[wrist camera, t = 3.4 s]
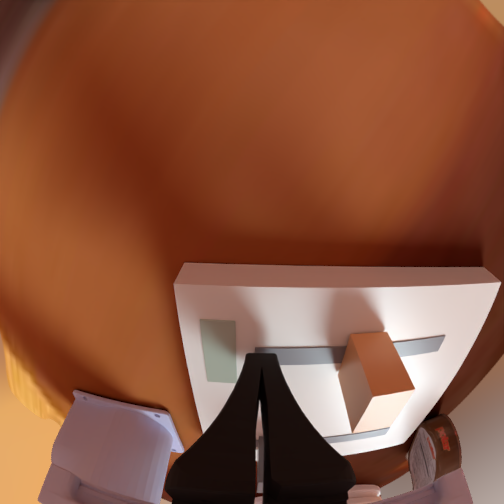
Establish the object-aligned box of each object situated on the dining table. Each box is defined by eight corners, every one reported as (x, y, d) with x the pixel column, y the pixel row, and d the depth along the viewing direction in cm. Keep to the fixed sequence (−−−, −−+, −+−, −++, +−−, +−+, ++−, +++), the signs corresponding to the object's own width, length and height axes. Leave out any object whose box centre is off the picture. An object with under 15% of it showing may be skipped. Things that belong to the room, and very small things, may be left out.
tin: (421, 451, 25) (436, 497, 17) (401, 459, 25) (413, 507, 18) (445, 398, 19) (474, 464, 11) (417, 410, 19) (443, 480, 12)
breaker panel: (212, 440, 21) (210, 458, 19) (184, 262, 13) (173, 284, 11) (398, 427, 20) (403, 443, 19) (483, 266, 13) (501, 282, 11)
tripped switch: (337, 374, 14) (352, 433, 10) (350, 334, 12) (372, 396, 9) (370, 371, 13) (390, 426, 10) (387, 331, 12) (415, 389, 9)
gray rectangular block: (257, 451, 18) (256, 492, 14) (258, 436, 16) (258, 482, 13) (282, 451, 18) (284, 492, 14) (287, 435, 16) (289, 481, 13)
